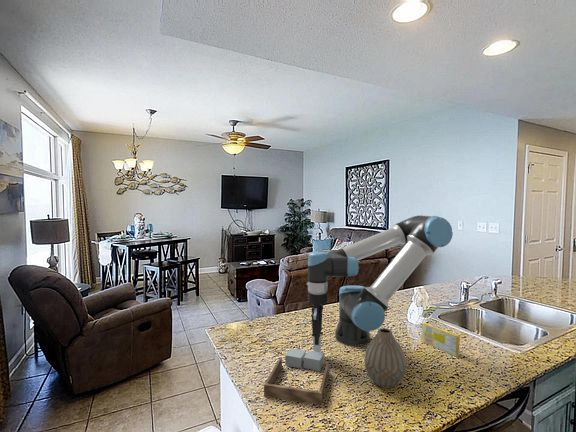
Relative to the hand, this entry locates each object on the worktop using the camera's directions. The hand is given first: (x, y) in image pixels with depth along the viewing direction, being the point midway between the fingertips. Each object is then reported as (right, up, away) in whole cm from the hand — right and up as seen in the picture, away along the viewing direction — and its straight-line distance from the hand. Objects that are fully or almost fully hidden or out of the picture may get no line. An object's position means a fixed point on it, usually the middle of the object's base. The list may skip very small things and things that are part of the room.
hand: (317, 351), depth 121 cm
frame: (-8, -2, -19) cm, 21 cm away
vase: (+21, -2, -18) cm, 28 cm away
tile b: (-9, -2, -6) cm, 10 cm away
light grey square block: (-2, -2, -7) cm, 8 cm away
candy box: (+51, -2, +6) cm, 51 cm away
